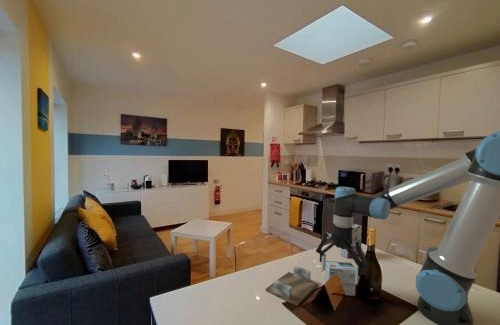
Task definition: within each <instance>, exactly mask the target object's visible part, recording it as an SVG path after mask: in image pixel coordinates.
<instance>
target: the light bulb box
mask: <svg viewBox="0 0 500 325" xmlns="http://www.w3.org/2000/svg"><path fill="white" fill-rule="evenodd" d="M334 273H337V275H338V277H339V278H340V281H341V284H342V286H343V289H344V291H345V295H344V296H351V297H352V296H353V297H354V296H356V285H357V284H355V273H356V267H355V266H354V265H353V263H352V262H350V261H349V262H347V261H333V260H326V265H325V278H324V279H325V281H324V283H325V282H326V281H327V280H328V279H329V278H330V277H331V276H332V275H333V274H334Z"/></svg>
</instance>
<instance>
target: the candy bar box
mask: <svg viewBox="0 0 500 325" xmlns="http://www.w3.org/2000/svg"><path fill="white" fill-rule="evenodd" d="M352 228H353V232H352V240H354V241H358V240H359V241H360V242H361V243H362V236H363V235H362V232H363V231H362V230H363V225H359V224H356V223H353V226H352ZM351 246H352V248H353V250H354V251H355V253H356V255H357V256H358V257H359V255H358V252H357V250H356V247H355V246H354V244H353V243H352V244H351ZM340 256H341V257H343V258H346V259H351V258H352V257H351V255H350V254H349V252H348V251H347V250H346V249H342V248H340Z"/></svg>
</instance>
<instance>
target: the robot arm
mask: <svg viewBox="0 0 500 325" xmlns="http://www.w3.org/2000/svg"><path fill="white" fill-rule="evenodd" d="M465 183H468V185H467V187H466V189H465V191H464V193H463V195H462V198H461V200H460V202H459V204H458V206H457V208H456V210H455V213H454V215H453V216H452V219H451V220H450V223H449V224H448V226H447V229H446V231H445V233H444V235H443V237H442V239H441V241H440V243H439V246H438V247H434V246H433V247H432V246H431V247H428V248H427V251H426V253H425V254H426V258H425V260H424V262H423V265H422V267H421V269H420V270H419V272H418V273H417V275H416V276H415V288H416V291H417V292H418V294H419V297H418V298H417V310H418V311H419V312H420V313H421V314H422V316H424V317H425V318H426V319H428V320H430V321H431V322H433V323H435V324H437V325H439V324H440V325H474V318H473V315H472V314H473V313H472V311H471V309H470V308H471V307H470V304H469V301H468V299H469V298H468V296H469V292H470V290H471V288H472V287H473V285H474V282H475V280H476V278H477V276H478V275H477V273H476V271H475V269H474V266H475V264H476V262H477V261H478V259H479V257H480V255H481V253H482V251H483V249H484V248H485V245H486V243H487V241H488V239H489V238H490V236H491V234H492V233H493V231H494V228H495V226H496V225H497V223H498V221H499V219H500V130H499V131H496V132H494V133H491V134H489V135H487V136H485V137H484V138H483V139H481V141H480V142H479V143H478V144H477V146H476V147H475V148H473V149H472V150H469V151H467V152H465V153H463V155H462V157H461V158H459V159H457V160H454V161H452V162H449V163H447V164H444V165H442V166H440V167H438V168H435V169H432V170H431V171H428V172H425V173H424V174H422V175H419V176H418V175H417V177H416V176H415V177H414V178H411V179H409V180H407V181H403V182H402V183H400V184H397V185H395V186H391V187H390V188H388V189H385V190H383V191H381V192H378V193H375V194H372V195H363V194H358V193H356V188H354V187H348V186H337V187H336V188H335V193H334V206H333V218H332V223H333V224H332V233H329V231H327V232H326V233H324V234H323V239H322V240H321V242H320V243H319V244H318V246H317V247H316V249H315V252H316V253H318V254H319V262H320V263H321V264H320V265H321V266H320V271H321V272H324V271H326V261H327V254H325V253H326V252H328V251H329V250H330V249H332V248H333V247H334V246H335V247H336V248H338V249H341V248H342V249H346V250H347V251H348V252H349V254H350V255H351V258H352V259H353V261H354V263H355V265H356V267H355V269H356V273H355V284H356V285H358V283H359V282H360V281H359V280H360V277H361V276H362V274H363V269H367V268H368V266H369V263H368V261H367V258H366V256H365V254H364V251H363V248H362V241H361V242H360V241H359V240H358V241H354V240H352V232H353V228H352V226H353V224H354V216H355V215H360V216H365V217H368V218H373V219H375V220H386V219H388V218H389V216H390V212H391V210H393V209H396V208H399V207H402V206H405V205H407V204H410V203H413V202H415V201H418V200H421V199H423V198H427V197H428V196H431V195H434V194H437V193H440V192H443V191H446V190H449V189H452V188H454V187H457V186H459V185H462V184H465ZM329 239H331V241H332V242H331V243H330V244H329V245H327V246H326V247H325V248H324V249H323V247H324V246H325V244H326V243H327V241H328V240H329ZM352 243H353V244H354V246H355V247H356V250H357V252H358V256H357V255H356V253H355V251H354V250H353V248H352V246H351V244H352ZM322 249H323V250H322Z"/></svg>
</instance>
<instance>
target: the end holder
mask: <svg viewBox="0 0 500 325" xmlns="http://www.w3.org/2000/svg"><path fill="white" fill-rule="evenodd" d="M318 284H319V283H318V282H315V281H313V280H311V270H308V269H306V268H303V267H300V266H298V265H295V266H294V267H293V272H292V271H291V272H290V271H288V272H287V273H285V274H283V275H282V276H281V277H280V278H278V279H275V280H274V281H273V283H271V284H270V285H268V286H267V287H266V288H265V292H267V293H269V294H271V295H273V296H276V297H278V298H279V299H282V300H284V301H286V302H288V303H289V304H291V305H294V306H296V307H299V305H300V304H301V303H302V302H303V301H304V300H306V298H307V297H308V296H310V294H311V293H312V292H313V291H314V290H315V289H316V288H317V287H318V286H319V285H318Z"/></svg>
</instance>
